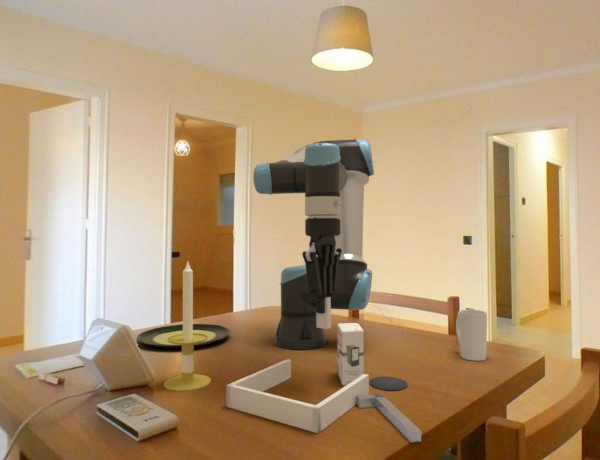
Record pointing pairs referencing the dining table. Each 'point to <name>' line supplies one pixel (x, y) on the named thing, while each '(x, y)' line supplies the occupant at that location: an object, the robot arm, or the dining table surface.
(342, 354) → the ink box
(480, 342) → the mug
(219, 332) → the plate
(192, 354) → the candle
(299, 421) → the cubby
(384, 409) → the crook tool
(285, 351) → the dining table surface
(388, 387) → the dark grey disc
